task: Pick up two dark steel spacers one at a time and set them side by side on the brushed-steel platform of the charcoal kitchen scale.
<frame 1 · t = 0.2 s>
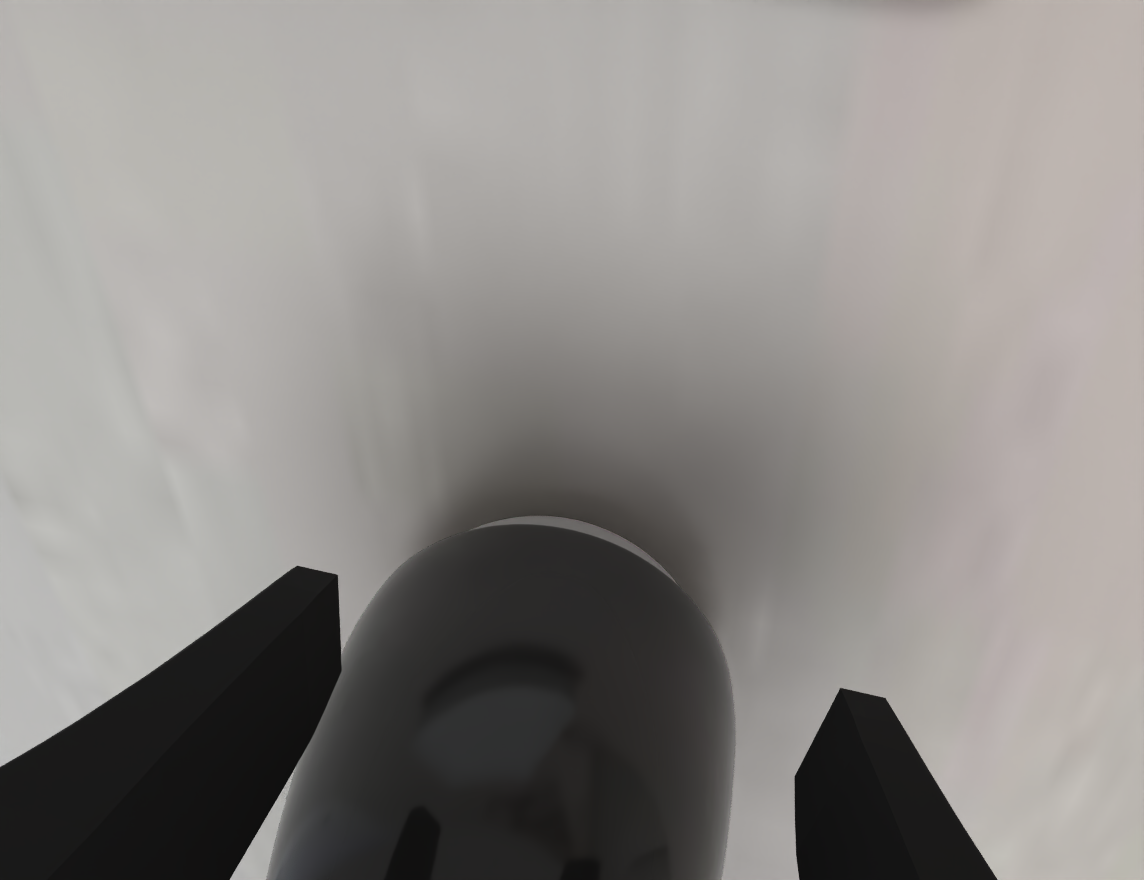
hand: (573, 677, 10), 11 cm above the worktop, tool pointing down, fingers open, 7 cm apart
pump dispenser: (557, 610, 23), on the worktop
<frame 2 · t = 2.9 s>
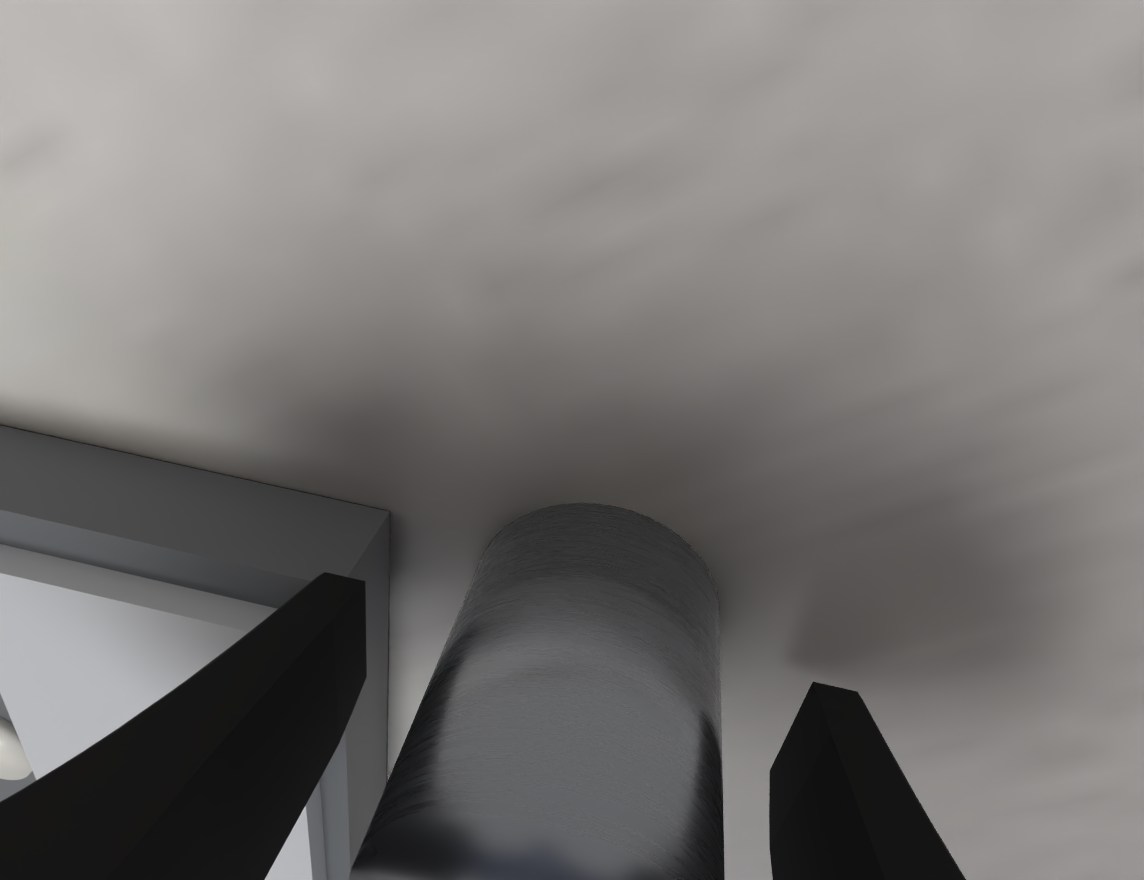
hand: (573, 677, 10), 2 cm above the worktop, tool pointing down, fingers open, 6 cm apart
spacer a: (594, 603, 12), on the worktop
scale: (201, 699, 15), on the worktop
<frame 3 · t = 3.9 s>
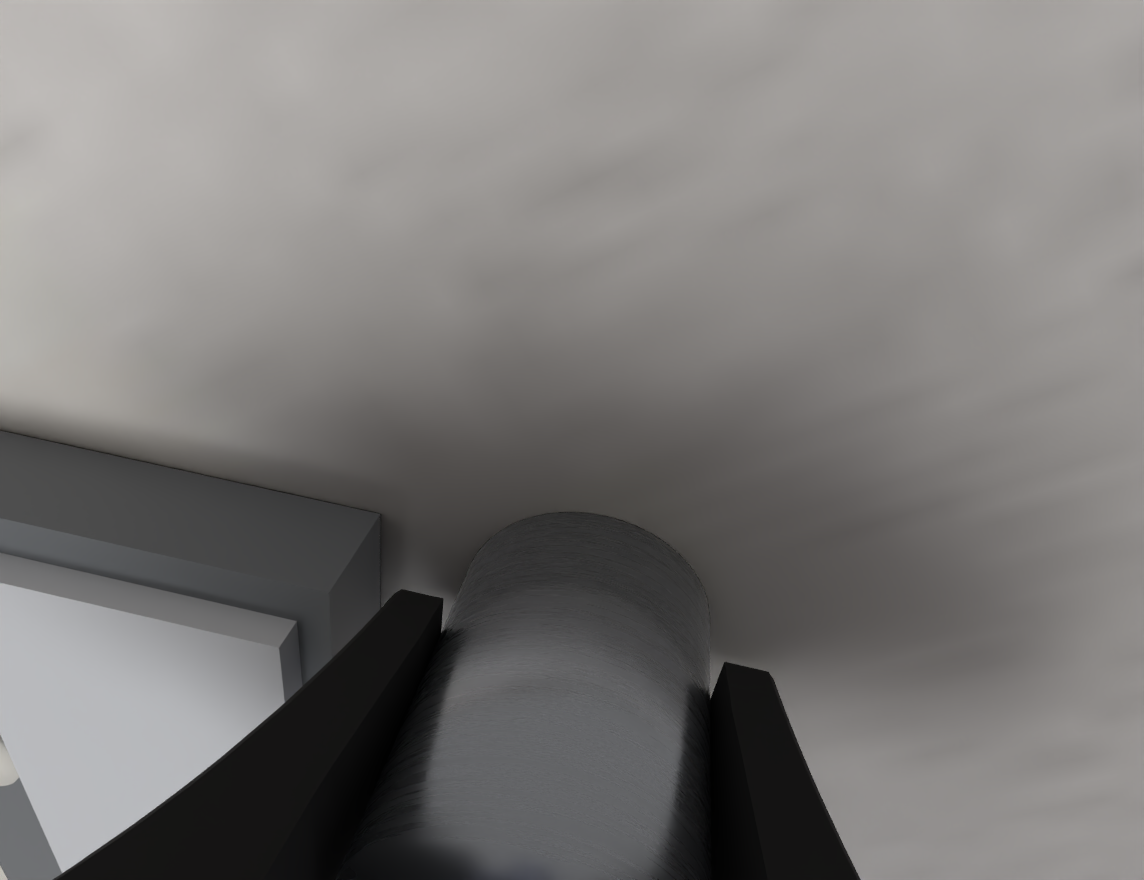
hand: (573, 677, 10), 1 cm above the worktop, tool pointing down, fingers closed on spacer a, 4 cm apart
spacer a: (584, 612, 12), on the worktop, touching gripper
scale: (192, 703, 15), on the worktop
when the fingers open (5 cm above the worktop, at t = 5.8 s): spacer a drops 1 cm, resting on scale.
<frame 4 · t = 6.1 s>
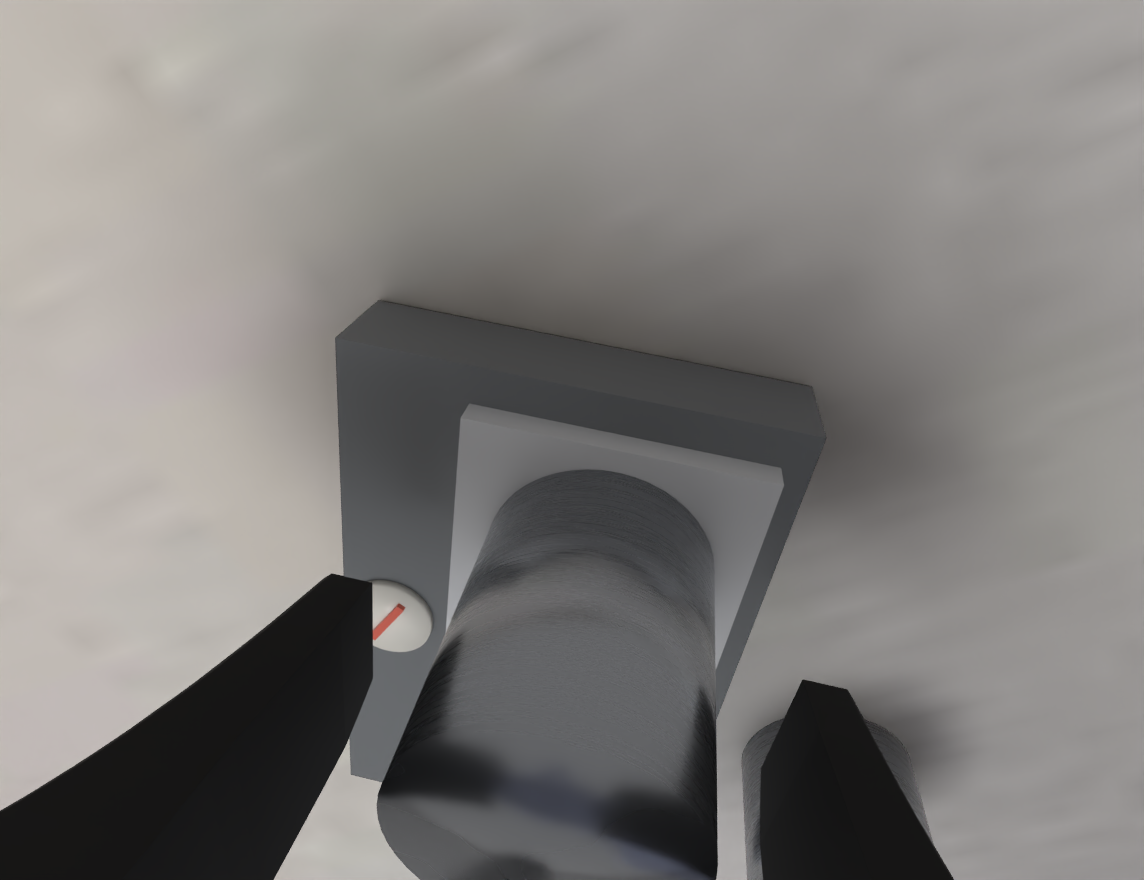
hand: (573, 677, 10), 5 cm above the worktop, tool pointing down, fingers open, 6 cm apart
spacer a: (598, 565, 13), point 2 cm above the worktop, touching scale
scale: (549, 585, 16), on the worktop
spacer b: (824, 767, 18), on the worktop
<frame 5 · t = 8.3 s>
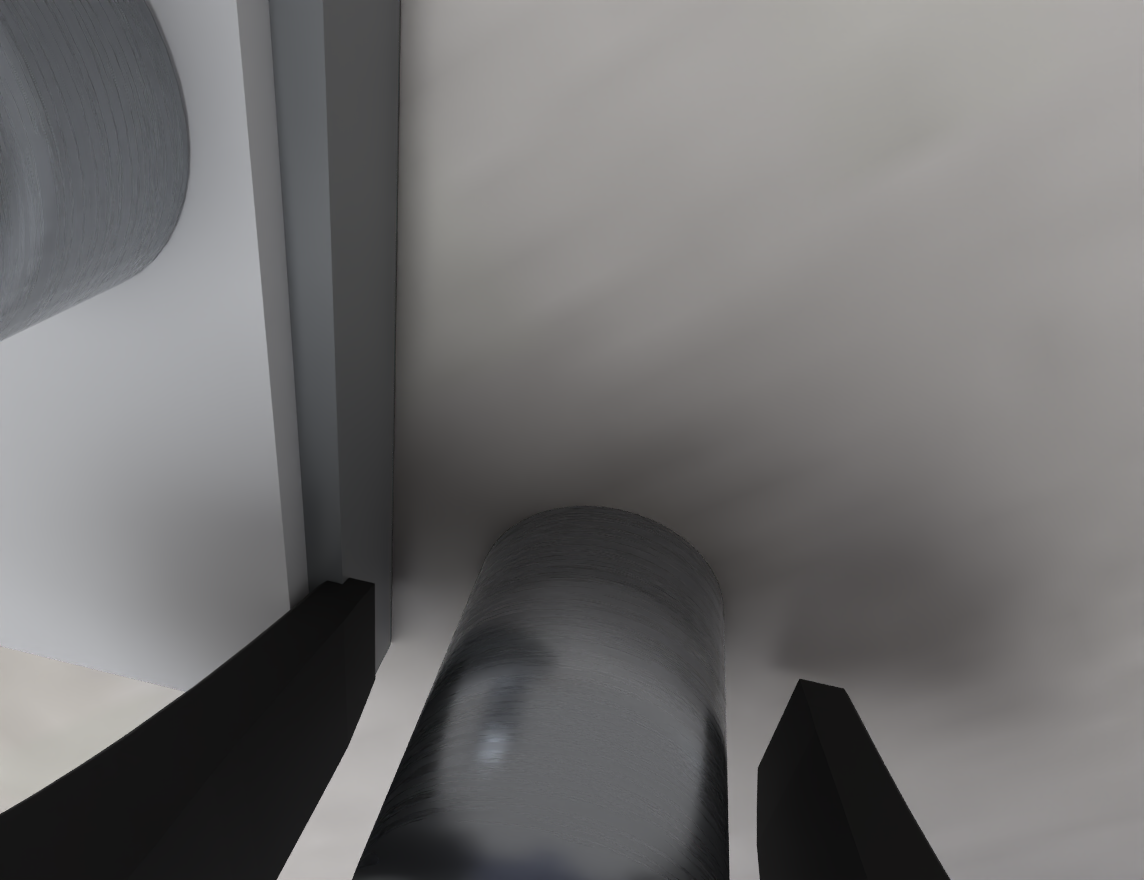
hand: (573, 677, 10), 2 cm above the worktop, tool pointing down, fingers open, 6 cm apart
scale: (121, 285, 10), on the worktop
spacer b: (598, 606, 12), on the worktop
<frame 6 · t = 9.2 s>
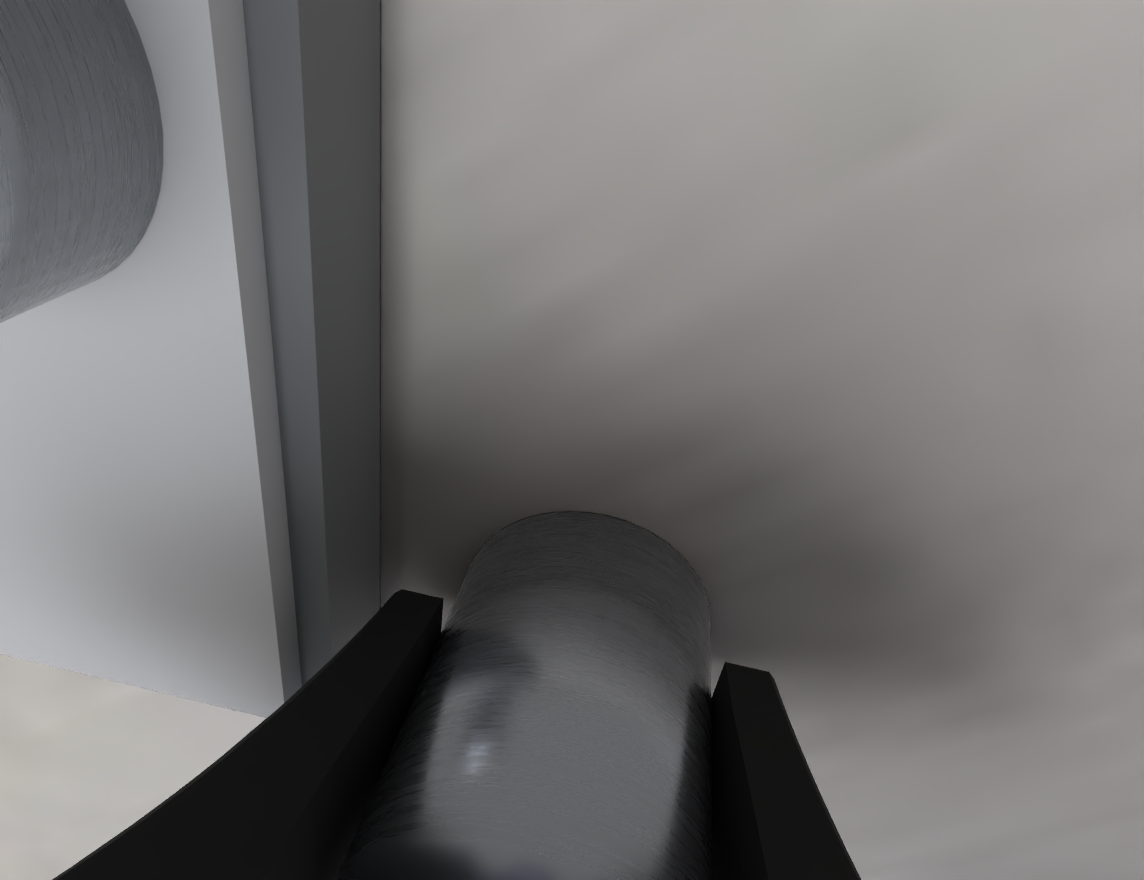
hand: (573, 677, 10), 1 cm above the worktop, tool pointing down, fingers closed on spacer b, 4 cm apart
scale: (101, 282, 10), on the worktop
spacer b: (584, 612, 12), on the worktop, touching gripper
when the fingers open (5 cm above the worktop, at t = 11.1 s): spacer b drops 1 cm, resting on scale.
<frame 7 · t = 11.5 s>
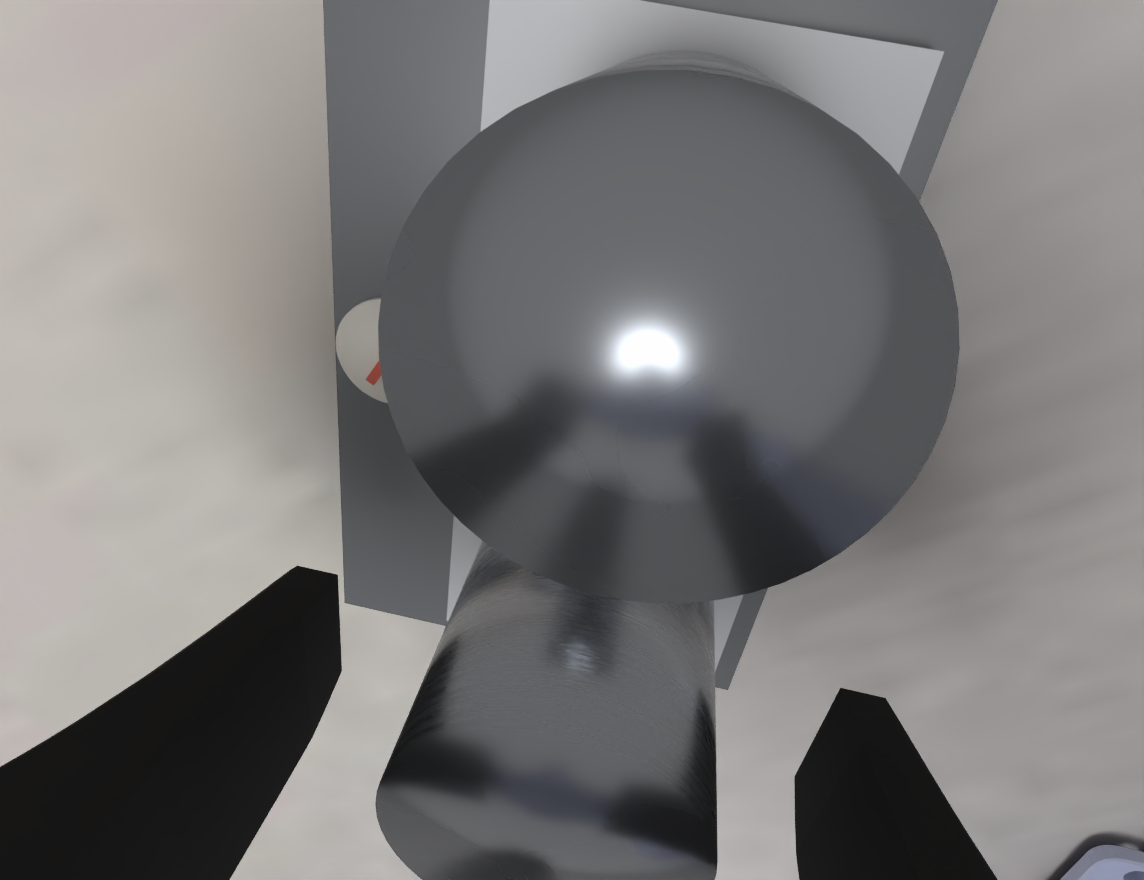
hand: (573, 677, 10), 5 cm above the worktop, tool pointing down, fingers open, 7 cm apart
spacer a: (671, 224, 9), point 2 cm above the worktop, touching scale
scale: (590, 342, 13), on the worktop
spacer b: (597, 563, 13), point 2 cm above the worktop, touching scale
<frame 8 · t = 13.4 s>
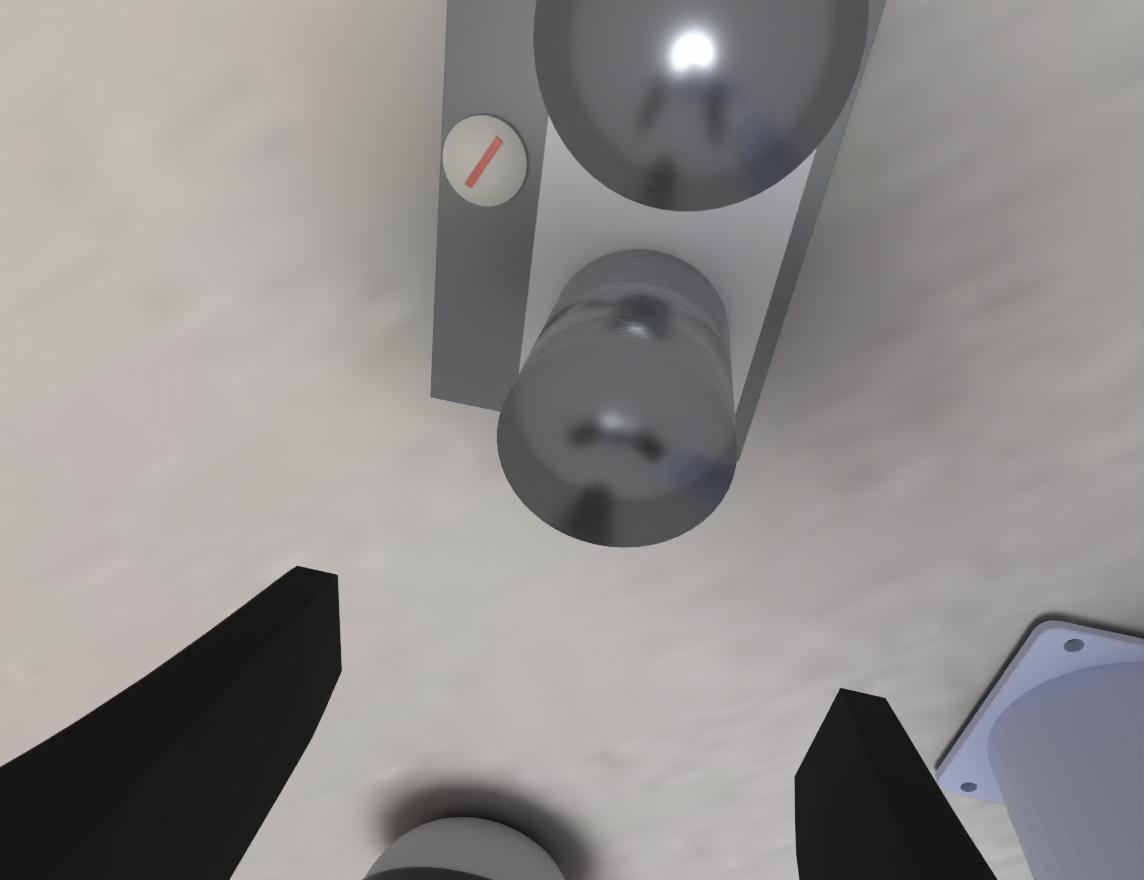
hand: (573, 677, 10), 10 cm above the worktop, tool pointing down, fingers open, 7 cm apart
spacer a: (702, 37, 13), point 2 cm above the worktop, touching scale
scale: (632, 170, 17), on the worktop
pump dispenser: (488, 848, 33), on the worktop
spacer b: (638, 337, 16), point 2 cm above the worktop, touching scale
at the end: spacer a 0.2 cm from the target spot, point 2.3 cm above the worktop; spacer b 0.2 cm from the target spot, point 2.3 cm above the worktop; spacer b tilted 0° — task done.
